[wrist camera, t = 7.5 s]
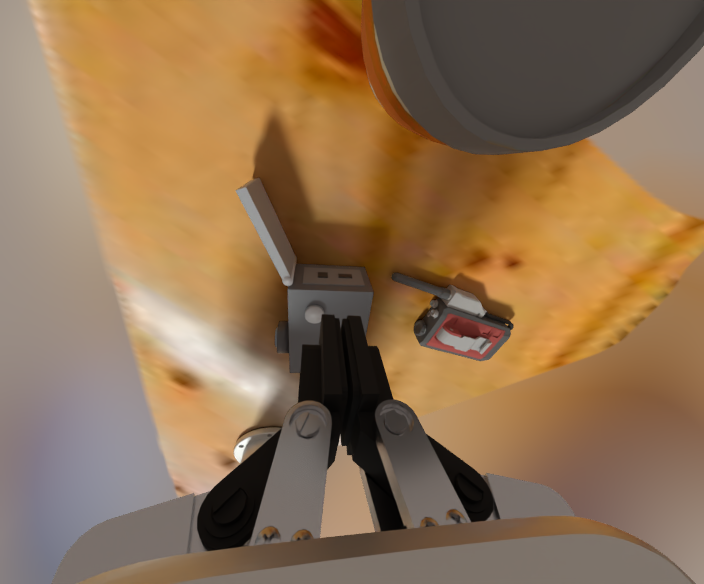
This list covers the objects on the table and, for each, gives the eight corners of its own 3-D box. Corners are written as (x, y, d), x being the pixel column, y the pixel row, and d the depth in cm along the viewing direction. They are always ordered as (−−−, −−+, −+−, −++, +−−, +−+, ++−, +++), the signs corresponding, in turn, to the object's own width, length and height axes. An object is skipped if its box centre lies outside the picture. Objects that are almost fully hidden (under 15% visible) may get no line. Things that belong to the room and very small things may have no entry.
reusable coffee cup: (305, 29, 18) (276, -213, 6) (460, -146, 15) (1213, -1638, 2) (397, 177, 24) (486, 222, 11) (522, 73, 21) (833, -22, 8)
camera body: (353, 339, 34) (360, 375, 29) (280, 339, 33) (273, 377, 28) (364, 265, 29) (375, 293, 23) (276, 260, 27) (266, 290, 22)
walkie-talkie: (517, 307, 35) (393, 262, 29) (540, 327, 32) (404, 280, 26) (478, 351, 39) (362, 319, 33) (495, 374, 36) (368, 342, 30)
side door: (259, 177, 23) (246, 186, 18) (298, 260, 27) (294, 284, 23) (246, 182, 23) (228, 192, 18) (286, 264, 27) (280, 288, 23)
